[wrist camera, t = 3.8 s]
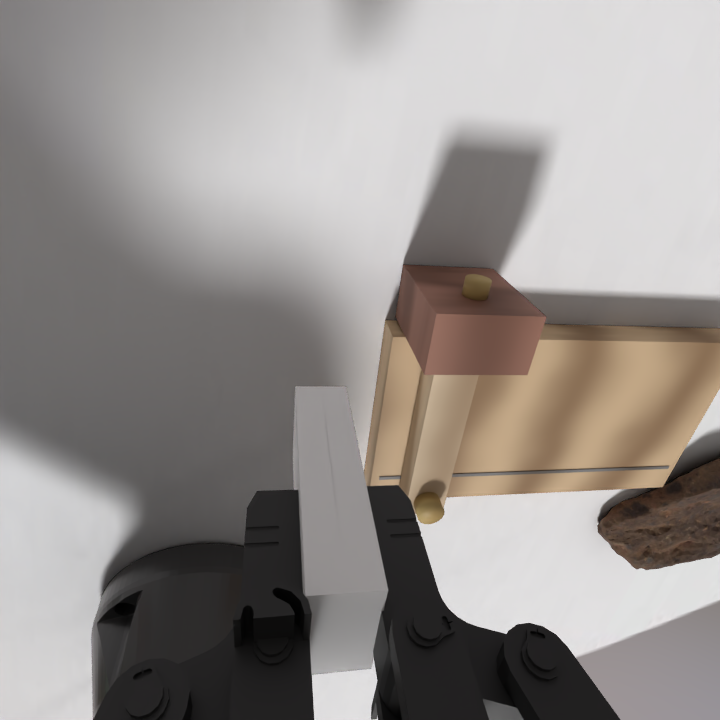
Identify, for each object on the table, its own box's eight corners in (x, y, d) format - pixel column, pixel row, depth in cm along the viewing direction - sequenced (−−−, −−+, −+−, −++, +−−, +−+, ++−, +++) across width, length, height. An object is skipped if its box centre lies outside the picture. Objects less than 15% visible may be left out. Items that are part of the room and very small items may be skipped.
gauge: (372, 468, 32) (390, 543, 27) (405, 249, 24) (439, 295, 19) (443, 466, 33) (473, 538, 28) (496, 254, 25) (552, 299, 20)
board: (363, 478, 32) (368, 501, 31) (385, 320, 26) (393, 337, 25) (644, 467, 36) (663, 487, 35) (719, 328, 30) (746, 343, 29)
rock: (738, 437, 37) (781, 470, 34) (699, 525, 42) (733, 561, 39) (604, 461, 36) (636, 497, 33) (582, 549, 41) (607, 587, 38)
